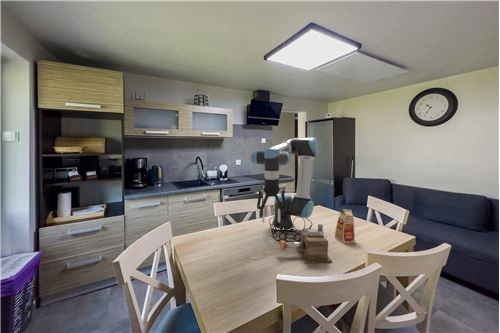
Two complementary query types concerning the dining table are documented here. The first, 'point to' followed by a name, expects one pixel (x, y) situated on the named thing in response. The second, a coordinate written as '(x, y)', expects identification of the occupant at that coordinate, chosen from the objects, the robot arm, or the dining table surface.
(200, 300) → the dining table surface
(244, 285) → the dining table surface
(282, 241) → the lynch pin
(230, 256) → the dining table surface
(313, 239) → the hitch block
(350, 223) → the milk carton
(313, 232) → the keeper bar
